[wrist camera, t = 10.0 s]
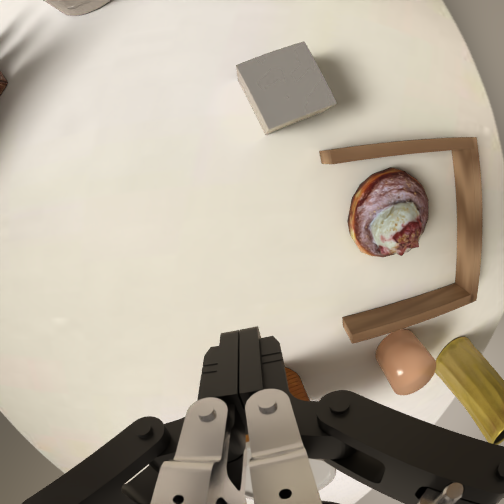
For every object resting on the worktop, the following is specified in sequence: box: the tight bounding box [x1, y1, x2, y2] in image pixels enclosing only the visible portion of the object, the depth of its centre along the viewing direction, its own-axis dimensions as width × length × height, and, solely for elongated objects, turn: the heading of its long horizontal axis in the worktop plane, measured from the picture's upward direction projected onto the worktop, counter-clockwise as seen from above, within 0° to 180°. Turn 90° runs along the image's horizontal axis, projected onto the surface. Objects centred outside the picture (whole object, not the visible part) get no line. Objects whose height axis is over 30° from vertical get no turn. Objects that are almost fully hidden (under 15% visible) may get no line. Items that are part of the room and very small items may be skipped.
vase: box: [435, 337, 504, 445], centre depth 22 cm, size 6×6×14 cm
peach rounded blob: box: [376, 329, 436, 395], centre depth 25 cm, size 5×5×5 cm
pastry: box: [348, 168, 428, 257], centre depth 21 cm, size 8×8×5 cm
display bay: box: [319, 137, 482, 344], centre depth 22 cm, size 16×14×3 cm
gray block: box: [236, 42, 337, 135], centre depth 18 cm, size 5×5×4 cm
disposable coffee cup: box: [245, 367, 336, 500], centre depth 23 cm, size 10×10×12 cm
